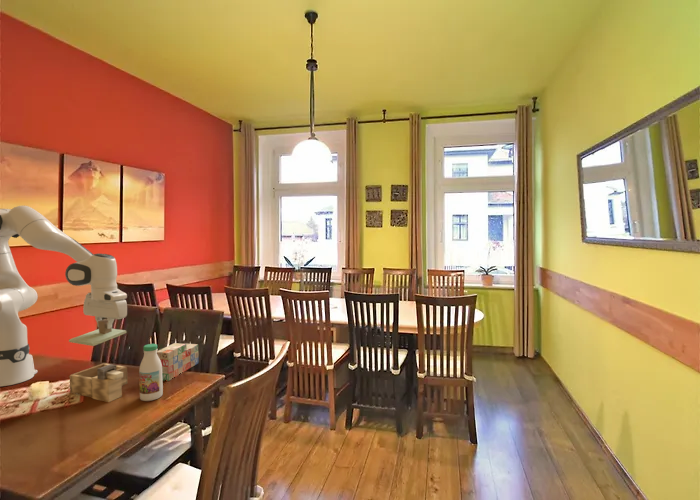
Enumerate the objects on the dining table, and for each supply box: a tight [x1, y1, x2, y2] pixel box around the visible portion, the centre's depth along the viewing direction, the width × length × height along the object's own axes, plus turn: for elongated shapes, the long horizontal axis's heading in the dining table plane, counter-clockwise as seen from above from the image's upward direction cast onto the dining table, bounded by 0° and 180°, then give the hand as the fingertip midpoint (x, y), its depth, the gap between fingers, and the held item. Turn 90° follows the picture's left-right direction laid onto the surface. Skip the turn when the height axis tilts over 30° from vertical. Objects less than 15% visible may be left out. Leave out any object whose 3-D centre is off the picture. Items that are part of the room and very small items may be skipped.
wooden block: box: [105, 370, 123, 380], centre depth 138 cm, size 9×3×2 cm, turn 71°
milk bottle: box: [138, 343, 164, 402], centre depth 139 cm, size 8×8×20 cm
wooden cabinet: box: [69, 362, 128, 403], centre depth 145 cm, size 22×15×12 cm
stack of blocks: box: [157, 342, 200, 382], centre depth 165 cm, size 21×6×12 cm, turn 169°
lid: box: [68, 318, 127, 347], centre depth 146 cm, size 13×14×6 cm
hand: (104, 327), depth 149 cm, fingers closed on lid, 3 cm apart
